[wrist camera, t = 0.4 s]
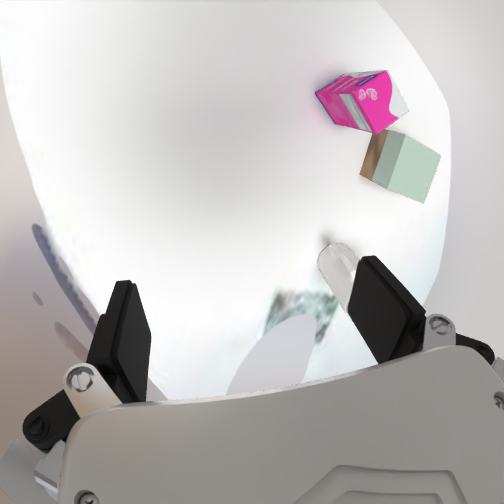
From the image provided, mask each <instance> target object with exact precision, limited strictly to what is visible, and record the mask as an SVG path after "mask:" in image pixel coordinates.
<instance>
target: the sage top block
mask: <svg viewBox="0 0 504 504" xmlns="http://www.w3.org/2000/svg"><path fill="white" fill-rule="evenodd" d="M440 157H441V155H440V154H438V153H437V152H435V151H433V150H431V149H430V148H428V147H426V146H425V145H423V144H421V143H419V142H418V141H416V140H414V139H412V138H410V137H408V136H407V135H404V134H400V133H397V132H393V131H390V130H389V131H388V134H387V137H386V140H385V143H384V146H383V149H382V153H381V155H380V158H379V161H378V164H377V167H376V170H375V173H374V176H373V179H372V181H373V182H375V183H377V184H379V185H380V186H382V187H384V188H385V189H387V190H390V191H393V192H395V193H398V194H401V195H403V196H406V197H409V198H411V199H414V200H416V201H419V202H421V203H424V201H425V199H426V196H427V194H428V191H429V189H430V186H431V183H432V180H433V178H434V175H435V172H436V169H437V166H438V163H439V160H440Z"/></svg>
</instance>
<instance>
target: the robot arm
mask: <svg viewBox="0 0 504 504" xmlns="http://www.w3.org/2000/svg"><path fill="white" fill-rule="evenodd" d="M425 313H426V311H425V309H424V308H423V307H422V306H421V305H420V304H419V303H418V301H417V300H416V299H415V298H414V297H413V296H412V295H411V293H410V292H409V291H408V290H407V289H406V288H405V287H404V286H403V285H402V283H401V282H400V281H399V280H398V279H397V278H396V277H395V276H394V275H393V274H392V273H391V272H390V270H389V269H388V268H387V267H386V266H385V265H384V264H383V263H382V262H381V261H380V260H379V259H378V258H377V257H376V256H374V255H373V256H364V257H362V258H361V260H360V261H359V262H358V264H357V269H356V274H355V278H354V283H353V287H352V292H351V296H350V300H349V304H348V314H349V316H350V318H351V319H352V321H353V322H354V324H355V326H356V327H357V329H358V331H359V332H360V334H361V336H362V337H363V339H364V340H365V342H366V344H367V345H368V347H369V349H370V350H371V352H372V354H373V356H374V357H375V359H376V361H377V362H378V365H374V366H371V367H367V368H364V369H360V370H356V371H353V372H349V373H345V374H341V375H337V376H333V377H329V378H324V379H320V380H315V381H311V382H306V383H301V384H296V385H291V386H286V387H280V388H275V389H268V390H262V391H255V392H249V393H242V394H234V395H225V396H216V397H205V398H194V399H181V400H167V401H149V402H146V391H147V378H148V367H149V356H150V347H151V332H150V329H149V326H148V322H147V319H146V316H145V313H144V310H143V306H142V303H141V299H140V296H139V292H138V289H137V286H136V284H135V283H132V282H131V281H130V280H124V281H117V282H116V284H115V287H114V289H113V292H112V295H111V298H110V301H109V304H108V307H107V310H106V313H105V314H102V315H101V316H100V318H99V321H98V324H97V327H96V330H95V333H94V337H93V340H92V344H91V347H90V350H89V354H88V357H87V361H86V363H80V364H76V365H74V366H72V367H71V368H69V369H68V370H67V371H66V373H65V374H64V377H63V381H62V385H63V388H64V389H63V390H62V391H60V392H59V393H57V394H56V395H55V396H53V397H52V398H50V399H49V400H48V401H46V402H45V403H43V404H42V405H41V406H39V407H38V408H36V409H35V410H34V411H32V412H31V413H30V414H29V415H28V416H27V417H26V418H25V420H24V423H23V433H24V434H23V436H22V437H21V438H20V437H19V436H17V438H16V439H15V440H14V442H13V443H12V444H11V446H10V447H9V449H8V450H7V451H6V453H5V454H4V456H3V457H2V458H1V460H0V488H1V490H2V491H3V492H4V493H5V494H6V496H7V497H8V498H9V499H10V500H11V501H12V502H13V503H14V504H504V360H502V359H501V358H499V357H497V358H496V359H495V356H494V352H493V350H492V349H491V348H490V347H489V346H488V345H487V344H485V343H483V342H481V341H478V340H475V339H472V338H469V337H466V336H463V335H460V334H457V333H456V332H455V326H454V324H453V322H452V321H451V320H450V319H448V318H447V317H446V316H443V315H440V314H432V315H430V316H428V317H427V318H426V316H425ZM59 477H60V481H59V493H58V490H57V481H58V479H59Z"/></svg>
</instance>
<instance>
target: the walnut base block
mask: <svg viewBox="0 0 504 504" xmlns="http://www.w3.org/2000/svg"><path fill="white" fill-rule="evenodd" d="M387 134H388V130H385V129H384V130H382V131H381V132H379V133H378V134H374V133H372V137H371V140H370V143H369V147H368V150H367V153H366V156H365V159H364V162H363V166H362V169H361V172H360V175H362V176H364V177H366V178H368V179H369V180H371V181H372V179H373V176H374V173H375V170H376V167H377V164H378V161H379V158H380V155H381V153H382V149H383V146H384V143H385V140H386V137H387Z"/></svg>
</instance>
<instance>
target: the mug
mask: <svg viewBox="0 0 504 504" xmlns="http://www.w3.org/2000/svg"><path fill="white" fill-rule="evenodd" d="M359 261H360V260H359V259H358V257H357V256H356V255H355V254H354V253H353V252H352V251H351V250H350V249H349V248H348V247H347V246H346V245H344V244H341V243H332V244H330V245H329V246H328V247H326V248H325V249H324V250H323V251H322V252H321V254H320V255H319V258H318V267H319V270H320V271H321V273H322V275H323V277H324V278H325V280H326V281H327V283H328V285H329V286H330V288H331V290H332V291H333V293H334V295H335V297H336V298H337V300H338V302H339V303H340V305H341V307H342V309H343V310H344V312H345V313H346V315H347V316H348V317H349V318H350V316H349V314H348V304H349V300H350V296H351V292H352V287H353V283H354V278H355V274H356V269H357V264H358V262H359Z"/></svg>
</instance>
